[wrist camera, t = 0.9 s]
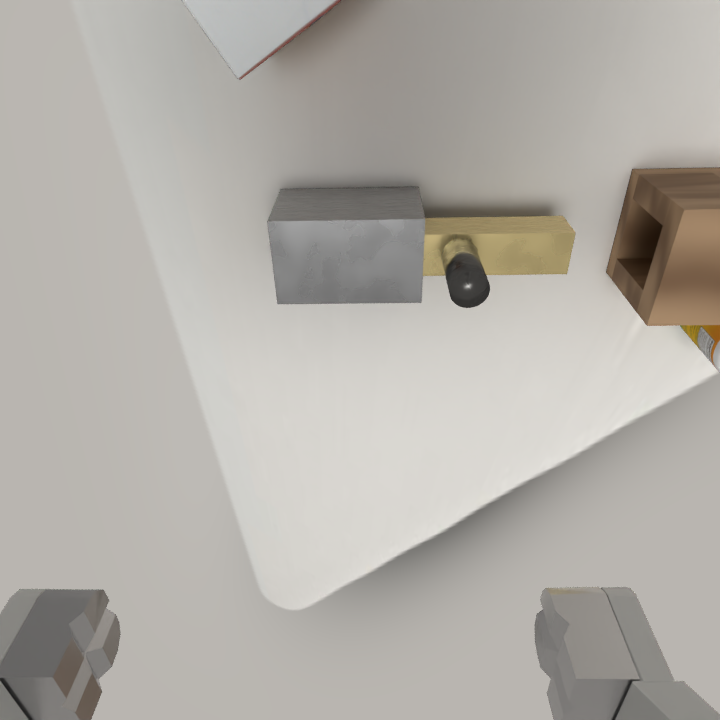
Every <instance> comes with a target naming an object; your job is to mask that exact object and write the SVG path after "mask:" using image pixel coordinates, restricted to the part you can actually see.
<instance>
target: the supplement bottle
mask: <svg viewBox="0 0 720 720" xmlns="http://www.w3.org/2000/svg"><path fill="white" fill-rule="evenodd" d="M680 326H681V327H682V329H683V330H684V331H685V333H686V334H687V335H688V336H689V337H690V338H691V340H692V341H693V342H694V343H695V344H696V345H697V347H698V348H699V349H700V350H701V351H702V352H703V354H704V355H705V356H706V357H707V358H708V359H709V361H710V362H711V363H712V364H713V365H714V366H715V368H716V369H717V370H718V371H719V372H720V325H680Z"/></svg>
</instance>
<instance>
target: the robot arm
mask: <svg viewBox="0 0 720 720" xmlns="http://www.w3.org/2000/svg"><path fill="white" fill-rule="evenodd" d="M540 600H541V604H542V607H543V610H542V611H540V612H539V613H537V615H536V621H535V643H536V649H537V655H538V659H539V663H540V667H541V668H542V670H543V671H544V672H545V673H546V674H547V675H548V676H549V677H550V678H551V681H550V684H549V688H548V691H547V696H548V699H549V703H550V707H551V711H552V715H553V719H554V720H720V714H719V713H718V712H717V711H715V710H714V709H713V708H712V707H711V706H710V705H709V704H708V703H707V702H706V701H705V700H704V699H702V698H701V697H700V696H699V695H698V694H697V693H696V692H695V691H694V690H693V689H692V688H690V687H689V686H688V685H687V684H686V683H685V682H684V681H674V678H673V676H672V674H671V672H670V669H669V667H668V666H667V663H666V661H665V659H664V656H663V654H662V652H661V649H660V647H659V645H658V643H657V641H656V638H655V636H654V634H653V631H652V630H651V627H650V625H649V623H648V620H647V618H646V616H645V614H644V612H643V609H642V607H641V605H640V602H639V600H638V599H637V596H636V594H635V593H634V592H633V591H632V590H631V588H627V587H611V588H610V587H608V588H599V587H572V588H571V587H570V588H569V587H567V588H545V589H544V590H543V591H542V595H541V599H540ZM108 602H109V599H108V597H107V595H106V593H105V591H104V590H71V589H70V590H68V589H66V590H65V589H62V590H61V589H60V590H58V589H56V590H55V589H19V590H18V591H17V592H16V593H15V594H14V595H13V596H12V597H11V598H10V599H9V600H8V602H7V604H6V606H5V607H4V609H3V610H2V612H1V614H0V720H91V719H92V716H93V714H94V711H95V708H96V706H97V703H98V701H99V698H100V696H101V693H102V690H101V686H100V683H99V678H100V677H101V676H102V675H103V674H105V672H107V671H108V670H109V669H110V668H111V667H112V665H113V662H114V659H115V657H116V654H117V651H118V646H119V639H120V625H119V621H118V618H117V616H116V614H114V613H113V612H111V611H110V610H108V609H107V608H106V607H107V604H108Z"/></svg>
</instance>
